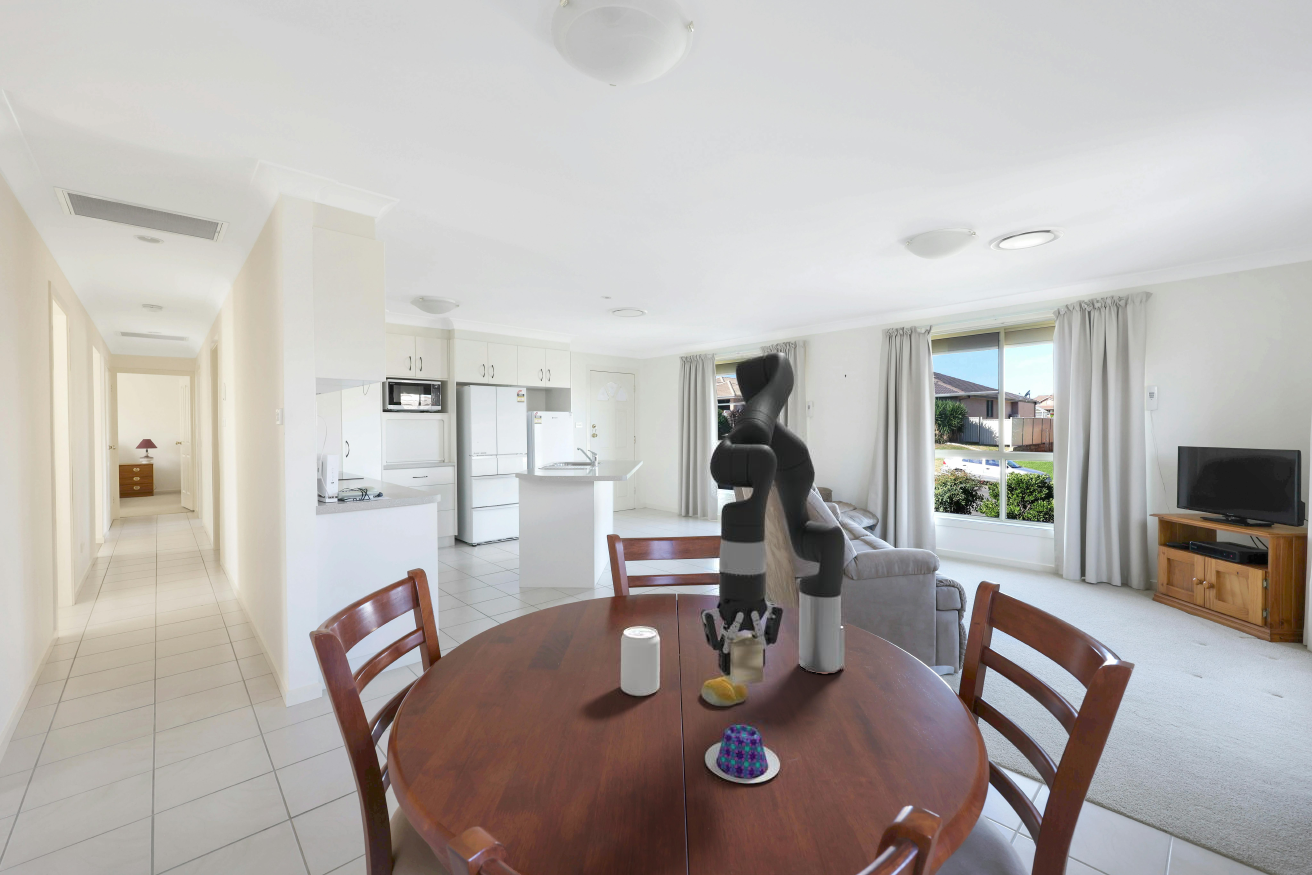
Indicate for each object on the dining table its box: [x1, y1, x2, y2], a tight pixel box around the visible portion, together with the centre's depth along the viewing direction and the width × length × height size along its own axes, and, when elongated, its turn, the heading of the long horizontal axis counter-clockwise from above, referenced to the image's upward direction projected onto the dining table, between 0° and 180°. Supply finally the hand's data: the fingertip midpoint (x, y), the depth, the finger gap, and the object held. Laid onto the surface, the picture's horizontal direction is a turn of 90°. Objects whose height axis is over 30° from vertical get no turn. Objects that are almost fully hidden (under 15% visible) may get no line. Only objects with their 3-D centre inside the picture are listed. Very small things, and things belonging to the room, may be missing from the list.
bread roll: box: [700, 676, 748, 707], centre depth 113 cm, size 8×9×4 cm
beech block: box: [720, 633, 764, 686], centre depth 90 cm, size 5×5×6 cm
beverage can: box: [620, 625, 661, 697], centre depth 116 cm, size 8×8×12 cm
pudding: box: [704, 724, 781, 784], centre depth 90 cm, size 12×12×5 cm
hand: (741, 671), depth 90 cm, fingers closed on beech block, 5 cm apart
